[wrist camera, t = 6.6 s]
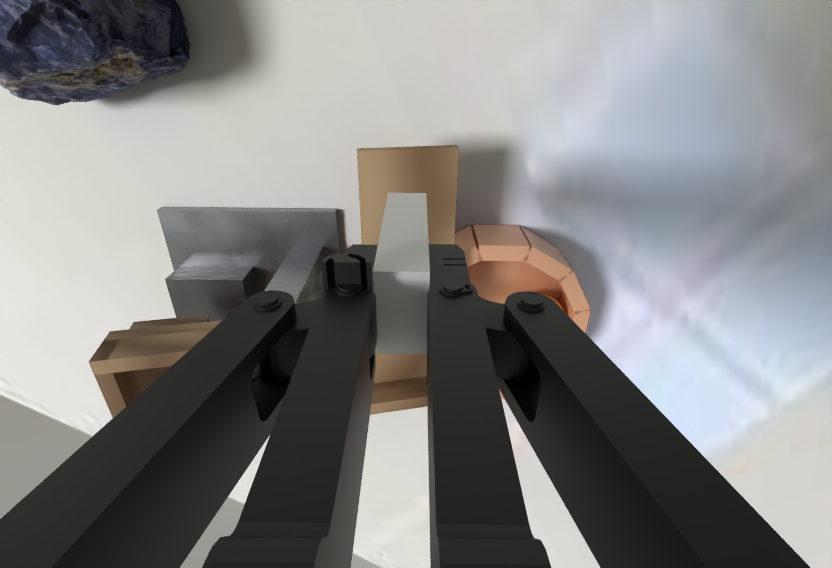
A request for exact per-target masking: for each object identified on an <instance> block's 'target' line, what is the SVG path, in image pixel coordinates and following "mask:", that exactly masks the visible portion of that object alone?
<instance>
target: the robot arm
mask: <svg viewBox="0 0 832 568" xmlns="http://www.w3.org/2000/svg"><path fill="white" fill-rule="evenodd" d="M321 268H322V277H323V286H324V290H323V293H322V296H321V298H319V299H316V300H313V301H308V302H303V303H297V304H295V303H294V298H293V296H292V295H291V294H289V293H287V292H283V291H274V290H269V291H263V292H260V293H258V294H255V295H252V296H251V297H249V298H248V299H246V300H245V301H244V302H243V303H241V304H240V305H239V306H238V307H237V308H236V309H235V310H234V311H232V312H231V313H230V314H229V315H228V316H227V317H226V318H225V319H224V320H222V321H221V322H220V323H219V324H218V325H217V326H216V327H215V328H213V329H212V330H211V331H210V332H209V333H208V334H207V335H206V336H205V337H203V338H202V339H201V340H200V341H199V342H198V343H197V344H196V345H194V346H193V347H192V348H191V349H190V350H189V351H188V352H187V353H186V354H184V355H183V356H182V357H181V358H180V359H179V360H178V361H177V362H175V363H174V364H173V365H172V366H171V367H170V368H169V369H168V370H167V371H165V372H164V373H163V374H162V375H161V376H160V377H159V378H158V379H156V380H155V381H154V382H153V383H152V384H151V385H150V386H149V387H148V388H146V389H145V390H144V391H143V392H142V393H141V394H140V395H139V396H137V397H136V398H135V399H134V400H133V401H132V402H131V403H130V404H129V405H127V406H126V407H125V408H124V409H123V410H122V411H121V412H120V413H118V414H117V415H116V416H115V417H114V418H113V419H112V420H111V421H110V422H108V423H107V424H106V425H105V426H104V427H103V428H102V429H101V430H99V431H98V432H97V433H96V434H95V435H94V436H93V437H92V438H91V439H89V440H88V441H87V442H86V443H85V444H84V445H83V446H82V447H81V448H79V449H78V450H77V451H76V452H75V453H74V454H73V455H72V456H70V457H69V458H68V459H67V460H66V461H65V462H64V463H63V464H61V465H60V466H59V467H58V468H57V469H56V470H55V471H54V472H52V473H51V474H50V475H49V476H48V477H47V478H46V479H45V480H44V481H43V482H41V483H40V484H39V485H38V486H37V487H36V488H35V489H33V490H32V491H31V492H30V493H29V494H28V495H27V496H26V497H25V498H23V499H22V500H21V501H20V502H19V503H18V504H17V505H16V506H15V507H13V508H12V509H11V510H10V511H9V512H8V513H7V514H6V515H4V516H3V517H2V518H1V519H0V568H180V566H181V565H182V563H183V562H184V560H185V559H186V557H187V556H188V554H189V553H190V552H191V550H192V549H193V547H194V546H195V544H196V543H197V541H198V540H199V538H200V537H201V535H202V534H203V532H204V531H205V529H206V528H207V526H208V525H209V524H210V522H211V521H212V519H213V517H214V516H215V515H216V513H217V512H218V510H219V509H220V507H221V506H222V504H223V503H224V501H225V500H226V499H227V497H228V496H229V494H230V493H231V491H232V490H233V488H234V487H235V485H236V484H237V482H238V481H239V479H240V478H241V476H242V475H243V474H244V472H245V471H246V469H247V468H248V466H249V465H250V463H251V462H252V460H253V459H254V457H255V456H256V454H257V453H258V451H259V450H260V448H261V447H262V446H263V444H264V443H265V441H266V440H267V438H268V437H269V435H270V437H269V440H268V443H267V445H266V448H265V451H264V454H263V456H262V459H261V462H260V464H259V467H258V470H257V473H256V475H255V478H254V481H253V483H252V486H251V489H250V492H249V494H248V497H247V500H246V502H245V505H244V508H243V511H242V513H241V517H240V519H239V522H238V524H237V526H236V528H235V530H234V532H233V533H232V534H231V536H226V537H220V538H219V539H218V541H217V542H216V543H215V544H214V545H213V546H212V548H211V550H210V552H209V554H208V556H207V558H206V560H205V562H204V565H203V567H202V568H350V567H351V560H352V552H353V544H354V536H355V528H356V520H357V512H358V504H359V496H360V488H361V480H362V472H363V464H364V456H365V448H366V440H367V432H368V424H369V416H370V408H371V401H372V393H373V385H374V377H375V369H376V356H375V349H376V351H377V354H427V376H426V386H427V403H428V454H429V505H430V557H431V568H551V565H550V562H549V559H548V556H547V552H546V549H545V547H544V545H543V544H542V542H541V540H539V539H535V538H534V537H533V535H532V533H531V530H530V526H529V522H528V517H527V513H526V508H525V504H524V499H523V495H522V490H521V486H520V481H519V477H518V472H517V468H516V463H515V459H514V454H513V450H512V445H511V441H510V436H509V432H508V427H507V423H506V418H505V414H504V409H503V405H502V400H501V396H500V392H501V393H502V395H503V397H504V399H505V400H506V402H507V404H508V406H509V407H510V409H511V411H512V413H513V414H514V416H515V418H516V420H517V421H518V423H519V425H520V427H521V428H522V430H523V432H524V434H525V435H526V437H527V439H528V441H529V442H530V444H531V446H532V448H533V450H534V451H535V453H536V455H537V457H538V458H539V460H540V462H541V464H542V465H543V467H544V469H545V471H546V472H547V474H548V476H549V478H550V479H551V481H552V483H553V485H554V486H555V488H556V490H557V492H558V493H559V495H560V497H561V499H562V501H563V502H564V504H565V506H566V508H567V509H568V511H569V513H570V515H571V516H572V518H573V520H574V522H575V523H576V525H577V527H578V529H579V530H580V532H581V534H582V536H583V537H584V539H585V541H586V543H587V544H588V546H589V548H590V550H591V552H592V553H593V555H594V557H595V559H596V560H597V562H598V564H599V566H600V567H601V568H810V567H809V566H808V565H807V564H806V563H805V561H804V560H803V559H802V558H801V557H800V556H799V555H798V554H797V553H796V552H795V551H794V550H793V549H792V548H791V547H790V546H789V545H788V544H787V543H786V542H785V541H784V540H783V539H782V538H781V537H780V535H779V534H778V533H777V532H776V531H775V530H774V529H773V528H772V527H771V526H770V525H769V524H768V523H767V522H766V521H765V520H764V519H763V518H762V517H761V516H760V515H759V514H758V513H757V512H756V511H755V509H754V508H753V507H752V506H751V505H750V504H749V503H748V502H747V501H746V500H745V499H744V498H743V497H742V496H741V495H740V494H739V493H738V492H737V491H736V490H735V489H734V488H733V487H732V486H731V485H730V483H729V482H728V481H727V480H726V479H725V478H724V477H723V476H722V475H721V474H720V473H719V472H718V471H717V470H716V469H715V468H714V467H713V466H712V465H711V464H710V463H709V462H708V461H707V460H706V459H705V457H704V456H703V455H702V454H701V453H700V452H699V451H698V450H697V449H696V448H695V447H694V446H693V445H692V444H691V443H690V442H689V441H688V440H687V439H686V438H685V437H684V436H683V435H682V434H681V433H680V431H679V430H678V429H677V428H676V427H675V426H674V425H673V424H672V423H671V422H670V421H669V420H668V419H667V418H666V417H665V416H664V415H663V414H662V413H661V412H660V411H659V410H658V409H657V408H656V407H655V405H654V404H653V403H652V402H651V401H650V400H649V399H648V398H647V397H646V396H645V395H644V394H643V393H642V392H641V391H640V390H639V389H638V388H637V387H636V386H635V385H634V384H633V383H632V382H631V380H630V379H629V378H628V377H627V376H626V375H625V374H624V373H623V372H622V371H621V370H620V369H619V368H618V367H617V366H616V365H615V364H614V363H613V362H612V361H611V360H610V359H609V358H608V357H607V356H606V354H605V353H604V352H603V351H602V350H601V349H600V348H599V347H598V346H597V345H596V344H595V343H594V342H593V341H592V340H591V339H590V338H589V337H588V336H587V335H586V334H585V333H584V332H583V331H582V330H581V328H580V327H579V326H578V325H577V324H576V323H575V322H574V321H573V320H572V319H571V318H570V317H569V316H568V315H567V314H566V313H565V312H564V311H563V310H562V309H561V308H560V307H559V306H558V305H557V304H556V302H555V301H553V300H552V299H550V298H549V297H548V296H545V295H543V294H540V293H537V292H532V291H525V292H516V293H512V294H511V295H509V296H508V297H507V298H506V301H505V304H502V303H497V302H492V301H488V300H486V299H483V298H481V297H480V296H478V292H477V289H476V288H475V286H474V285H472V284H471V282H470V277H469V273H468V268H467V263H466V258H465V253H464V250H462V249H461V248H460V247H459V246H458V245H457V244H429V241H428V220H427V198H426V193H388V196H387V201H386V206H385V211H384V216H383V221H382V227H381V232H380V237H379V242H378V245H352V246H351V247H349V248H348V249H347V250H346V251H345V252H339V253H335V254H331V255H329V256H327V257H325V258H324V259H323V260H322V261H321ZM499 390H500V391H499Z"/></svg>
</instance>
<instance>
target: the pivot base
mask: <svg viewBox="0 0 832 568" xmlns="http://www.w3.org/2000/svg"><path fill="white" fill-rule="evenodd" d="M157 212H158V215H159V219H160V222H161V226H162V229H163V233H164V236H165V240H166V244H167V247H168V251H169V254H170V258H171V261H172V265H173V268H174V272H173V273H172V274H171V275H170V276H168V277H167V278H166V279H165V280H166V284H167V287H168V291H169V294H170V297H171V301H172V304H173V307H174V311H175V314H176V317H177V318H181V317H192V316H202V315H209V317H210V321H221V320H224V319H225V318H226V317H227V316H228V315H229V314H230V313H231V312H232V311H234V310H235V309H236V308H237V307H238V306H239V305H240V304H241V303H243V302H244V301H245V300H246V299H248V298H249V297H251V296H252V295H255V294H258V293H260V292H263V291H269V290H274V291H283V292H287V293H289V294H291V295H292V296H293V298H294V303H295V304H297V303H303V302H308V301H313V300H316V299H319V298H321V296H322V293H323V290H324V286H323V277H322V268H321V261H322V260H323V259H324V258H325V257H327V256H329V255H331V254H335V253H339V252H340V243H339V230H338V218H337V209H308V208H208V207H161V208H159V209H158V210H157Z"/></svg>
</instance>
